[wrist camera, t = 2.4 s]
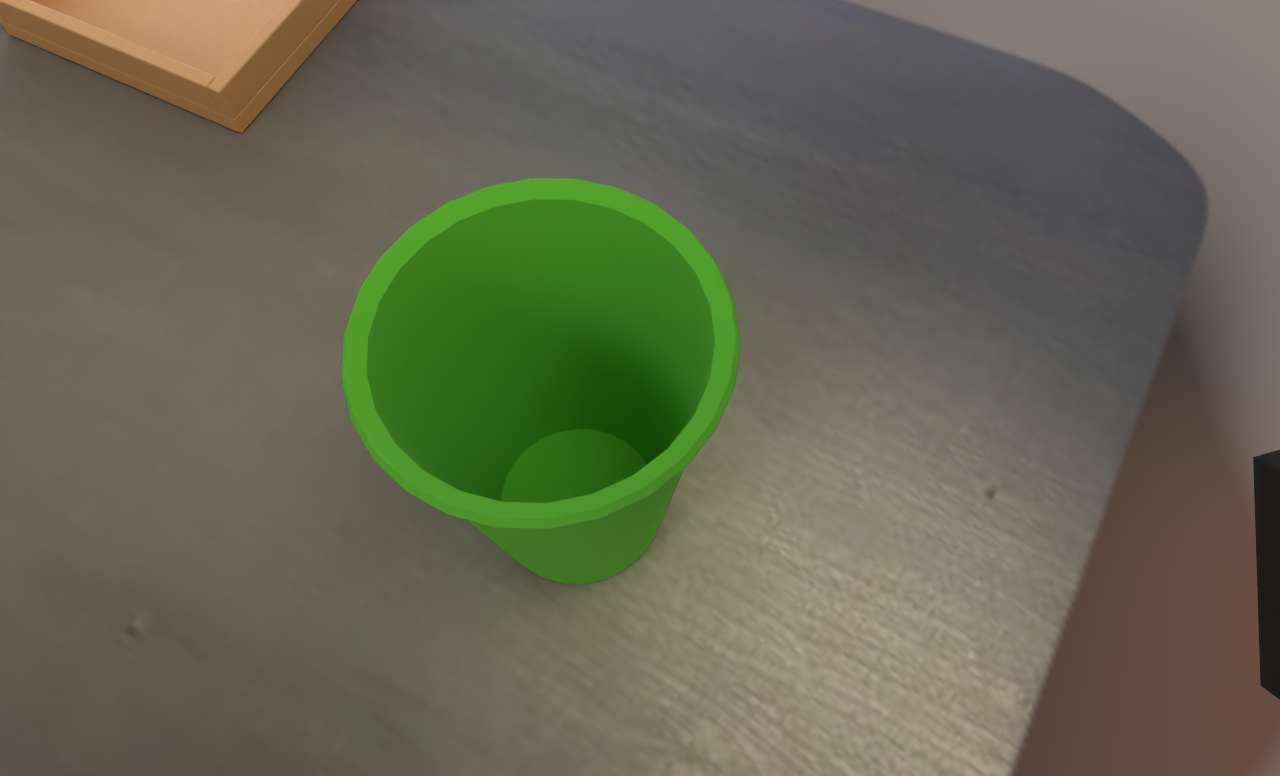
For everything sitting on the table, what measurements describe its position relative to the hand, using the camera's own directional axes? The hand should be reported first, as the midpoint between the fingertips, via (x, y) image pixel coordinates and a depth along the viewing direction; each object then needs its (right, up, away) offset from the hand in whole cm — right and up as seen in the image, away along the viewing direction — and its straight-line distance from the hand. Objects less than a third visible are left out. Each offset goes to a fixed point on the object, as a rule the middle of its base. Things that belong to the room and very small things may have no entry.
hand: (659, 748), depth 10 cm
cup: (-2, 0, +23) cm, 23 cm away
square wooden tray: (-18, +21, +35) cm, 44 cm away
